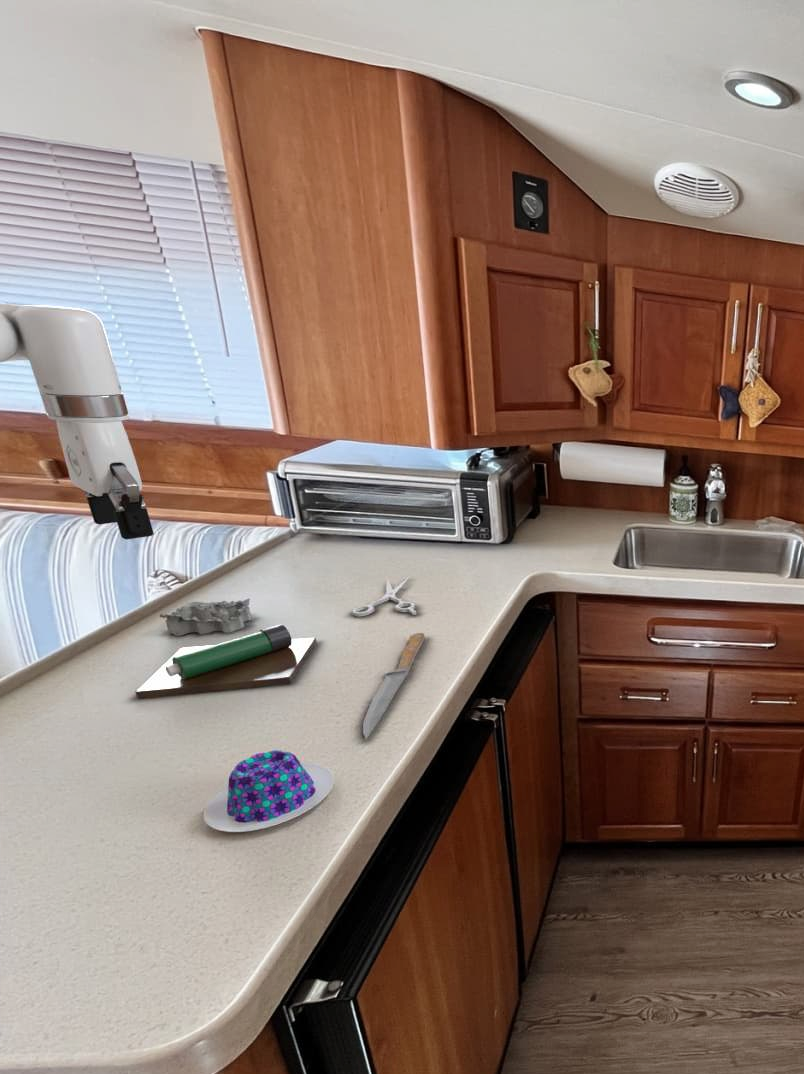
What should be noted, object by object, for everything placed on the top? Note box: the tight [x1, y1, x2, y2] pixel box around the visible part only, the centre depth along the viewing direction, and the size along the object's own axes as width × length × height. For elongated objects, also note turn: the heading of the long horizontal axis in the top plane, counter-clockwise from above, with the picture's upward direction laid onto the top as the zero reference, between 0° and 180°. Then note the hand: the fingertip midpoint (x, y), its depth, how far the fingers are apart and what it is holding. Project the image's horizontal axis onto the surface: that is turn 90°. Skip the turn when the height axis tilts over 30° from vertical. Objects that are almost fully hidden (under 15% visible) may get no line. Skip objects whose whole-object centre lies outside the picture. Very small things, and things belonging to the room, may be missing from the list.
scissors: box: [352, 577, 417, 617], centre depth 128 cm, size 11×1×20 cm
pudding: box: [203, 749, 335, 833], centre depth 74 cm, size 12×12×5 cm
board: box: [135, 637, 318, 700], centre depth 99 cm, size 18×14×1 cm
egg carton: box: [159, 598, 253, 637], centre depth 111 cm, size 11×8×4 cm
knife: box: [362, 632, 426, 740], centre depth 99 cm, size 31×1×3 cm
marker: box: [165, 623, 293, 679], centre depth 98 cm, size 15×4×4 cm, turn 152°
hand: (124, 529), depth 91 cm, fingers open, 9 cm apart
